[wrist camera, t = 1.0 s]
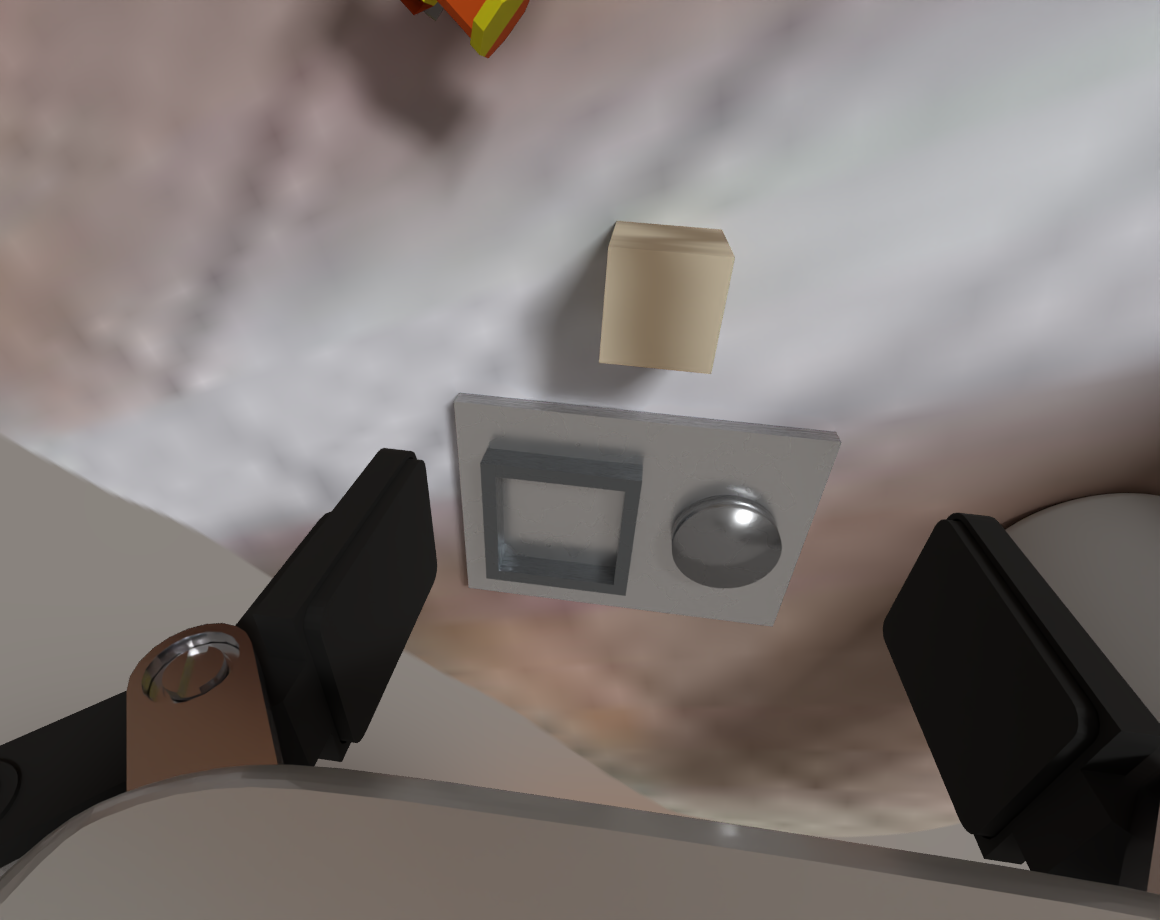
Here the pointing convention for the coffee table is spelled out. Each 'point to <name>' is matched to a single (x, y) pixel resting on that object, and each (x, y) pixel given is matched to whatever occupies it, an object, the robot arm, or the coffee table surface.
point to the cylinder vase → (1106, 576)
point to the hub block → (664, 296)
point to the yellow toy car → (476, 18)
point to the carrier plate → (636, 506)
